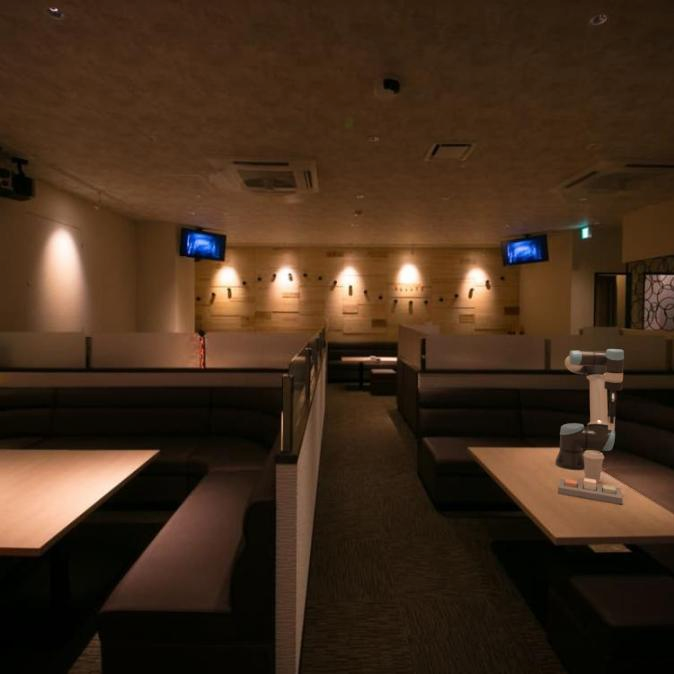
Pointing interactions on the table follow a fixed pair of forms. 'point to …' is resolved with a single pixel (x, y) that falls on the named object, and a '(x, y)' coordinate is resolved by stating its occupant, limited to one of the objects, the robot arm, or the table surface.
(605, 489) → the sage key
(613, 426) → the robot arm
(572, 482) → the terracotta key
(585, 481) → the ivory key
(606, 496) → the keypad board
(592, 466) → the coffee cup
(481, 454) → the table surface
